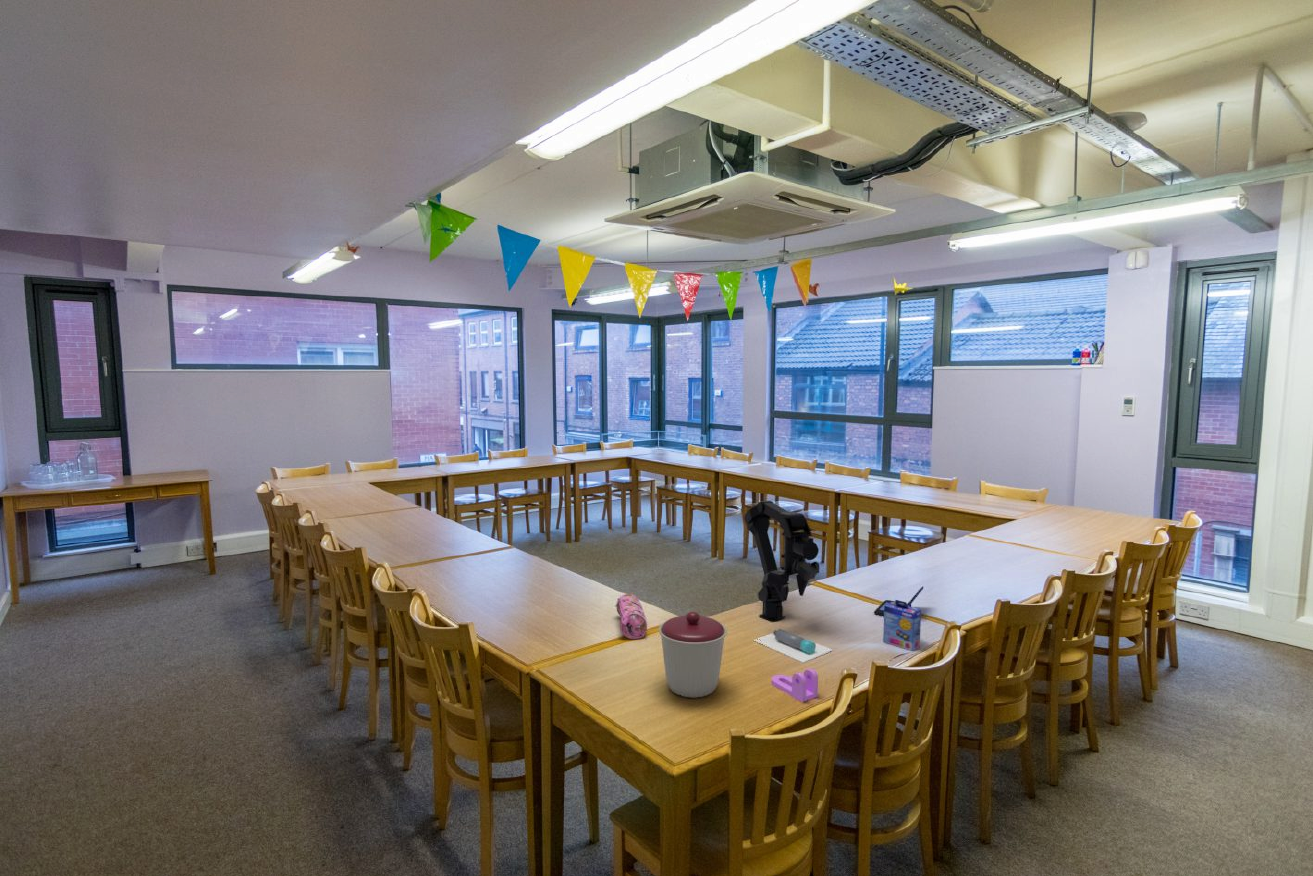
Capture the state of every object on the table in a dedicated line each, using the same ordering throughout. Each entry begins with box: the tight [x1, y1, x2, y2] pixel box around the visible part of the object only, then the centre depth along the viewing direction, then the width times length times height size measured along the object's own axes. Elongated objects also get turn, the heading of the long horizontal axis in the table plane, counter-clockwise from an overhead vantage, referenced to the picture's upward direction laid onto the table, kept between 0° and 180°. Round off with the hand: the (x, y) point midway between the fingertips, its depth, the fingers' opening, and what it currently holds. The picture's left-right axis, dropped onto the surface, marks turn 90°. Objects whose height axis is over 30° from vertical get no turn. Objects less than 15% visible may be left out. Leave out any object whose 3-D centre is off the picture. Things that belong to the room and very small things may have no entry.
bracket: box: [771, 668, 819, 703], centre depth 169 cm, size 13×6×7 cm, turn 33°
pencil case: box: [614, 593, 648, 640], centre depth 211 cm, size 21×9×9 cm, turn 9°
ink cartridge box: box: [882, 599, 922, 652], centre depth 199 cm, size 10×6×14 cm, turn 44°
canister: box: [658, 611, 728, 698], centre depth 169 cm, size 18×18×21 cm
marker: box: [772, 628, 816, 654], centre depth 197 cm, size 15×4×4 cm
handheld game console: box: [873, 586, 924, 618], centre depth 227 cm, size 16×13×9 cm
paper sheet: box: [753, 632, 834, 664], centre depth 198 cm, size 20×14×1 cm
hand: (792, 598), depth 209 cm, fingers open, 9 cm apart
